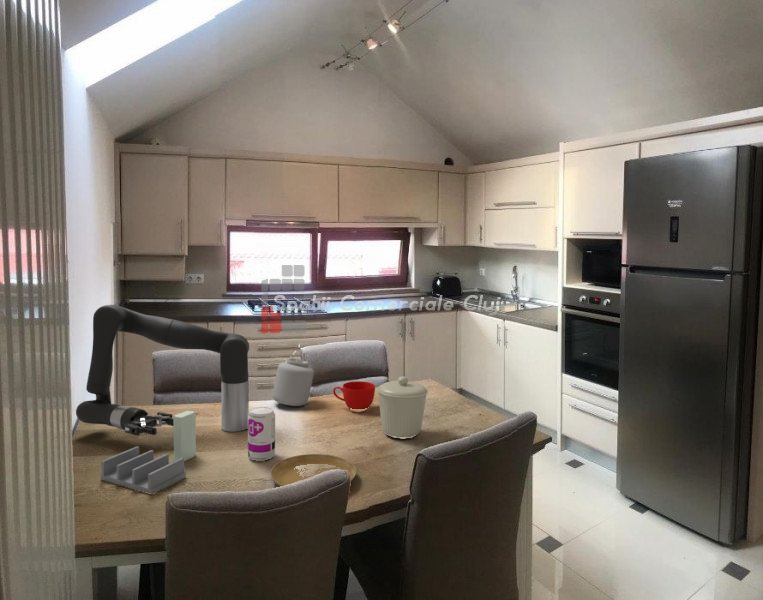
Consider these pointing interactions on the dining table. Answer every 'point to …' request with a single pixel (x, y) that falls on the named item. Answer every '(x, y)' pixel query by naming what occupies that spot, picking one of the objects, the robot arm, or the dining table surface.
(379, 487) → the dining table surface
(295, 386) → the jar
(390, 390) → the canister
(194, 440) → the green slab
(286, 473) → the plant saucer
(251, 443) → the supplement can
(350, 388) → the ceramic cup
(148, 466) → the dish rack
